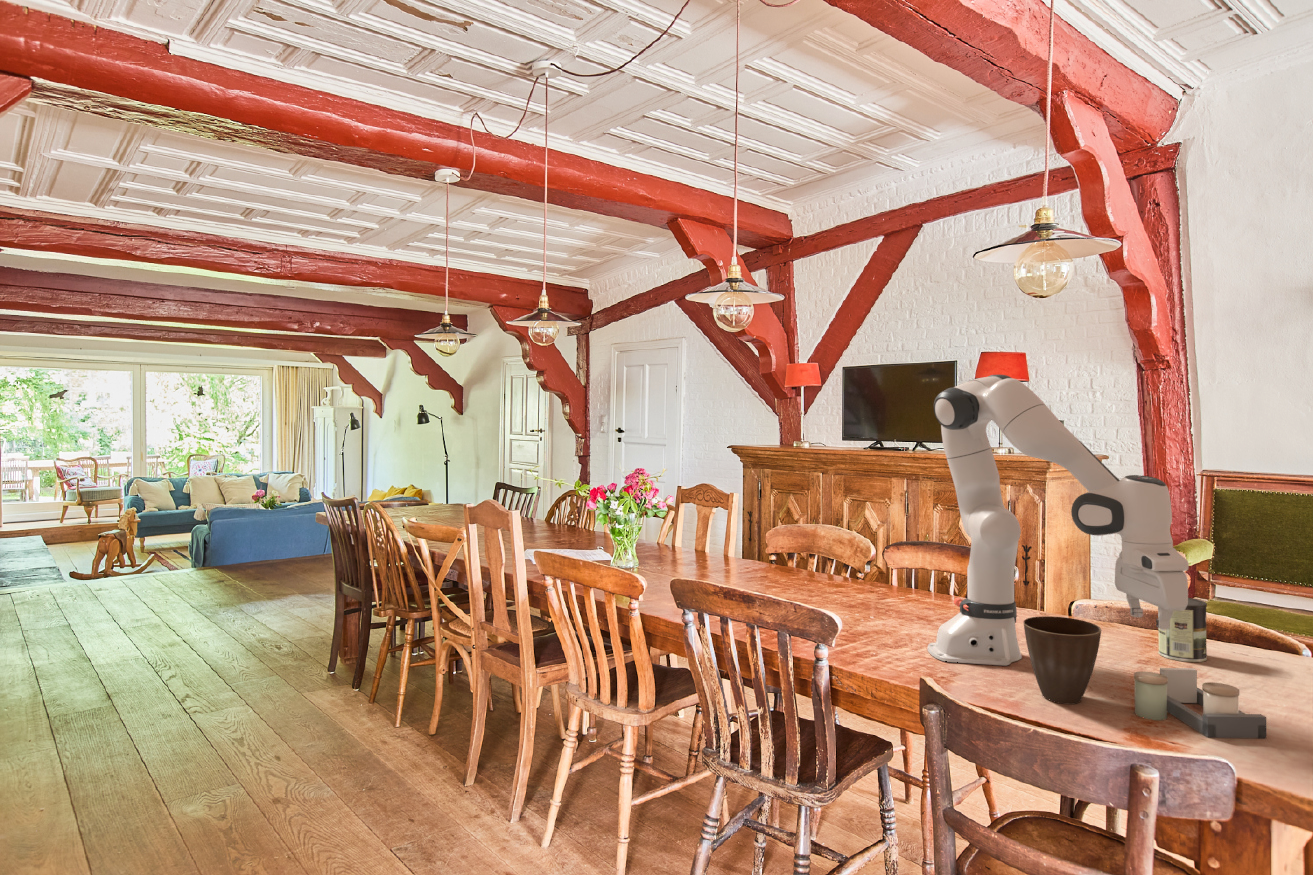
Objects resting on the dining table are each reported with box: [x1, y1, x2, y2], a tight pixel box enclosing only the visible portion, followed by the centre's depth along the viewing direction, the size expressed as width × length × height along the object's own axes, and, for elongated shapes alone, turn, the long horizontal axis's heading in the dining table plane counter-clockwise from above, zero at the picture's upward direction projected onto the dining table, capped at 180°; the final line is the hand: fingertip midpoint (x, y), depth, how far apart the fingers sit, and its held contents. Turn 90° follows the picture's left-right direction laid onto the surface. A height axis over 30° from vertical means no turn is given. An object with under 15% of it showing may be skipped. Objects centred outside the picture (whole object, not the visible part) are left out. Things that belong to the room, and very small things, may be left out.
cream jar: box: [1201, 682, 1240, 714], centre depth 148 cm, size 6×6×8 cm
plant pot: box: [1023, 615, 1102, 704], centre depth 165 cm, size 15×15×16 cm
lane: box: [1167, 687, 1267, 739], centre depth 154 cm, size 10×21×4 cm, turn 176°
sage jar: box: [1133, 671, 1168, 721], centre depth 155 cm, size 6×6×8 cm
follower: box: [1159, 667, 1198, 704], centre depth 162 cm, size 7×4×7 cm, turn 86°
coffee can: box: [1157, 597, 1208, 663], centre depth 192 cm, size 10×10×14 cm
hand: (1149, 622), depth 155 cm, fingers open, 8 cm apart
